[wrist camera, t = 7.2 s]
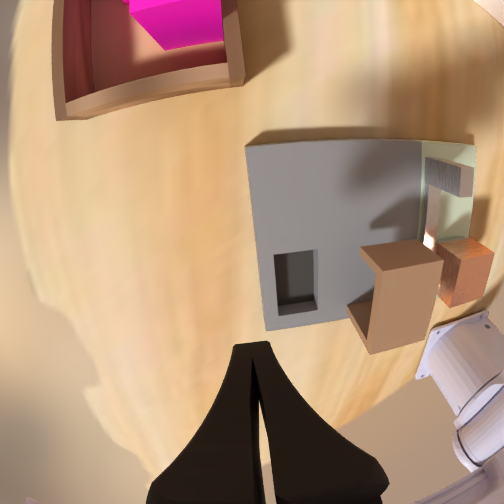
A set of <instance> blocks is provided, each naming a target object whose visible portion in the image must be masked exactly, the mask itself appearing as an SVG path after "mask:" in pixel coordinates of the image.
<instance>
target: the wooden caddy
mask: <svg viewBox="0 0 504 504" xmlns="http://www.w3.org/2000/svg"><path fill="white" fill-rule="evenodd" d="M90 10H91V0H54V5H53V19H52V80H53V95H54V107H55V116H56V121H63V120H87V119H90V118H93V117H96V116H99V115H102V114H106V113H109V112H112V111H116V110H119V109H123V108H127V107H130V106H134V105H138V104H142V103H146V102H151V101H155V100H159V99H164V98H169V97H174V96H179V95H184V94H190V93H196V92H202V91H208V90H215V89H223V88H231V87H240V86H243V83H244V79H245V76H246V74H245V66H244V57H243V49H242V41H241V33H240V25H239V18H238V10H237V2H236V0H221V13H222V26H223V35H224V43H225V52H226V60H227V63H220V64H212V65H206V66H199V67H193V68H188V69H182V70H177V71H172V72H167V73H163V74H158V75H154V76H150V77H146V78H142V79H138V80H134V81H130V82H127V83H123V84H120V85H117V86H113V87H110V88H107V89H104V90H101V91H98V92H95V93H94V90H93V78H92V64H91V39H90Z"/></svg>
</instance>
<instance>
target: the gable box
mask: <svg viewBox="0 0 504 504" xmlns="http://www.w3.org/2000/svg"><path fill="white" fill-rule="evenodd" d="M474 1H475V2H476V3H477V4H479V5H480V6H481V7H482V8H483V9H485V10H486V11H487V12H488V13H489V14H490V15H491V16H493V17H494V18H495V19H496V20H497V21H498V22H499V23H500V24H501V25H502V26H503V27H504V0H474Z"/></svg>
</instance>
